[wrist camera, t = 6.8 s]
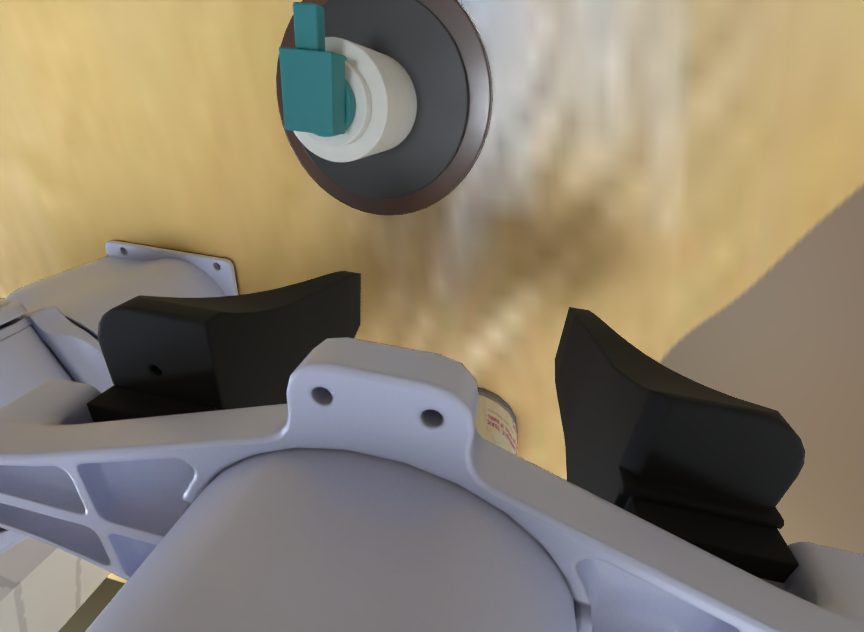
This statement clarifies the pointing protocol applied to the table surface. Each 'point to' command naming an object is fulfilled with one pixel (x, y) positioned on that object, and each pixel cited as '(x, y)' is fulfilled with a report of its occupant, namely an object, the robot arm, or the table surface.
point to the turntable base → (480, 107)
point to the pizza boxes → (43, 586)
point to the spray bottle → (375, 94)
